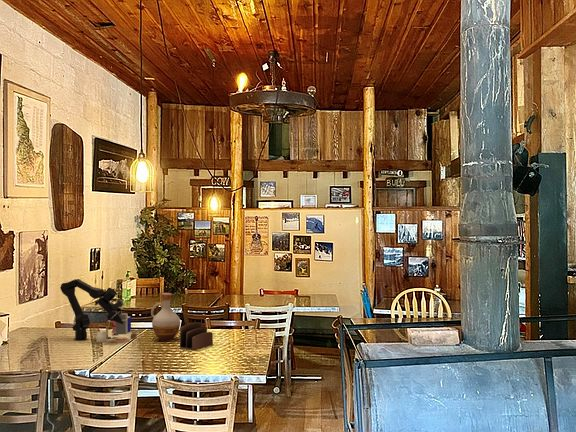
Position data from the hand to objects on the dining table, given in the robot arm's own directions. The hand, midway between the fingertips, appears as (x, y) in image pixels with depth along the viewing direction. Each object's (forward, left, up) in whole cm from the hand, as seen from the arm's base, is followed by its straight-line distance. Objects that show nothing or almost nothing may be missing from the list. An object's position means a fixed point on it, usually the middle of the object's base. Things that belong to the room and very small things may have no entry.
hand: (123, 322), depth 359 cm
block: (+8, +5, -12) cm, 15 cm away
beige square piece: (-12, +7, -12) cm, 18 cm away
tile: (-1, +1, -12) cm, 12 cm away
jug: (+24, -9, -12) cm, 28 cm away
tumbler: (-1, +1, -7) cm, 7 cm away
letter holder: (+33, -40, -12) cm, 53 cm away
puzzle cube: (+8, +33, -12) cm, 36 cm away
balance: (-7, +14, -12) cm, 19 cm away
